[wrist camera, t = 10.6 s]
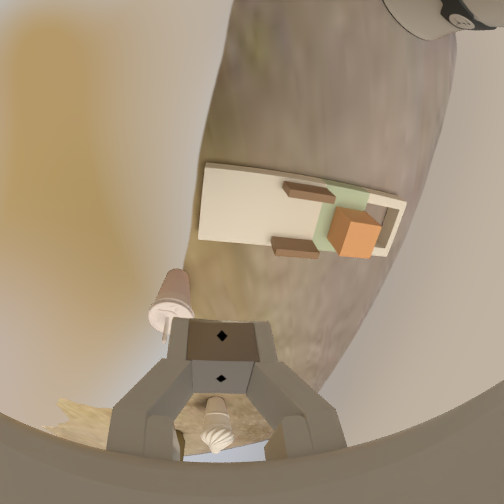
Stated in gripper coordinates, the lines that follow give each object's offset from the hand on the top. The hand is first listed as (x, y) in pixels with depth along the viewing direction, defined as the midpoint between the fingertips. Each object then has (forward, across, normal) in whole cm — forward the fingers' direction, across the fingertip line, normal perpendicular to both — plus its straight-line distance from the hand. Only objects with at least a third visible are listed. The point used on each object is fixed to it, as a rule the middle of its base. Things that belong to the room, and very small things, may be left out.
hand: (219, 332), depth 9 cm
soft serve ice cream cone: (+29, -3, +61) cm, 68 cm away
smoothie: (+30, +5, +21) cm, 37 cm away
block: (+27, -19, +8) cm, 34 cm away
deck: (+30, -13, +7) cm, 34 cm away
